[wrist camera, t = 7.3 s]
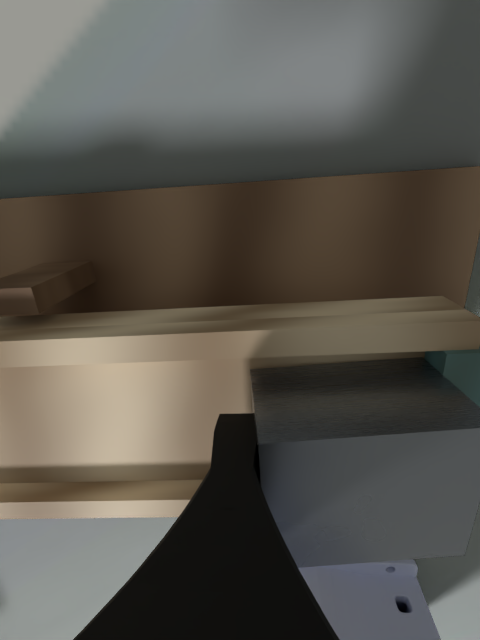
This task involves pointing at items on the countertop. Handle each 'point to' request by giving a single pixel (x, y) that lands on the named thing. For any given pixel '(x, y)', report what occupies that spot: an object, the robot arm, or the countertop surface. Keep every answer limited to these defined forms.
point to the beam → (178, 390)
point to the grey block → (367, 460)
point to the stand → (242, 243)
